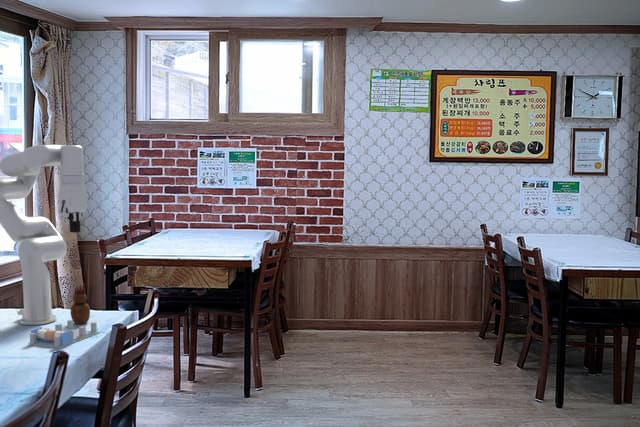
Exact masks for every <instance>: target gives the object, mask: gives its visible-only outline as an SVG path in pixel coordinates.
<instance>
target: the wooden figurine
mask: <svg viewBox="0 0 640 427" xmlns="http://www.w3.org/2000/svg"><path fill="white" fill-rule="evenodd" d="M86 294H87V293H86V283H83V285H82V284H79V287H77V288H76V289H74V294H73V297H72V301H73V304H72V305H71V307H70V316H71V317H70V318H71V320H73V324H77V325H84V324H86V323H88V322H89V319H90V317H91V308H90V305H89V304H88V303H87V295H86Z"/></svg>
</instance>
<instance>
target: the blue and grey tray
mask: <svg viewBox="0 0 640 427" xmlns="http://www.w3.org/2000/svg"><path fill="white" fill-rule="evenodd" d="M54 327H55V329H54V330H58V331H61V332H63V333H61V336H58V335H56V336H54V341H47V340H43V339H37V338H36V332H37V331H38V330H39V329H42V330H50V328H48V327H46V328H43V327H42V326H39V327H37V328H34V329H31V330H30V333H29V342H28V346H34V347H35V346H36V347H45V348H52V349H62V348H65V347H68V346H70V345H72V344H75V343H78V342H80V341H83V340H85V339H87V338H91V337H92V336H95V335H98V334H99V333H100V332H99V331H98V326H97V322H96V321H92V322H90V330H86V329H87V328H86V326H83V325H81V326H79V327H78V329H74V322H73V320H72V319H68V320H67V328H66V329H65V328H64V329H63V324H62V323H57V324H54Z"/></svg>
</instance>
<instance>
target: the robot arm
mask: <svg viewBox="0 0 640 427" xmlns="http://www.w3.org/2000/svg"><path fill="white" fill-rule="evenodd" d="M42 167H60V173H61V175H60V177H61V184H60V186H59V190H58V192H59V193H58V211H59V213H61V214H62V217H65V218H66V219H67V221H68V222H69V232H70V233H76V234H77V233H80V232H81V221H82V217H83V216H84V215H85V214H86V213H87V210H88V194H87V189H86V184H85V165H84V149H83V147H82V146H81V145H78V144H77V145H74V144H73V145H72V144H69V145H67V144H65V145H64V144H38V145H32V146H29V147H26V148H24V150H23V151H19V152H15V153H11V154H8V155H4V157H2V158H1V160H0V172H1V173H2V174H4V175H5V176H8V177H0V226H1V227H2V228H3V229H4V231H5V232H6V233H7V235H8V236H9V238H10V240H12V241H13V242H15V243H19V245H18V248H17V249H18V250H17V255H18V258H19V262H20V266H21V273H22V274H21V276H22V278H21V279H22V290H23V291H22V292H23V294H22V295H23V308H20V309H19V311H17V313H16V314H17V315H19V316H22V317H21V318H20V320H19V324H20V325H24V326H39V325H45V324H51V323H53V322H55V321H57V315H55V314H52V313H53V310H52V291H51V290H52V289H51V288H52V287H51V273H50V270H49V269H48V267H47V265H46V264H45V263H47V262H51V261H52V262H53V261H57V260H60V259H62V258H64V257H65V256H66V254H67V250H68V249H67V248H68V246H67V243H66V241H65V240H64V238H63V237H62V235H61V234H60V233H59V231H58V230H57V229H56V227H55V226H54V225H53V224H52V222H51V221H50V220H49V219H48V218H47V217H44V216H40V215H39V216H26V215H24V213H23V212H22V211H21V210H20V208H19V207H18V206H17V205H16V204H13V202H10V201H9V200H20V199H22V200H23V199H25V198H27V196H29V195H30V193H31V192H32V189H33V188H34V185H35V183H36V181H37V179H38V177H39V175H40V174H41V173H40V172H41V168H42Z"/></svg>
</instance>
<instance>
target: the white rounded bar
mask: <svg viewBox="0 0 640 427" xmlns="http://www.w3.org/2000/svg"><path fill="white" fill-rule="evenodd" d="M42 329H43V328H42ZM42 329H39V330H38V331H37V332H36V338H37V339H43V340H47V341H54V336H56V335H58V336H61V333H63V332H61V331H58V330H55V329H49V330H42Z"/></svg>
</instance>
